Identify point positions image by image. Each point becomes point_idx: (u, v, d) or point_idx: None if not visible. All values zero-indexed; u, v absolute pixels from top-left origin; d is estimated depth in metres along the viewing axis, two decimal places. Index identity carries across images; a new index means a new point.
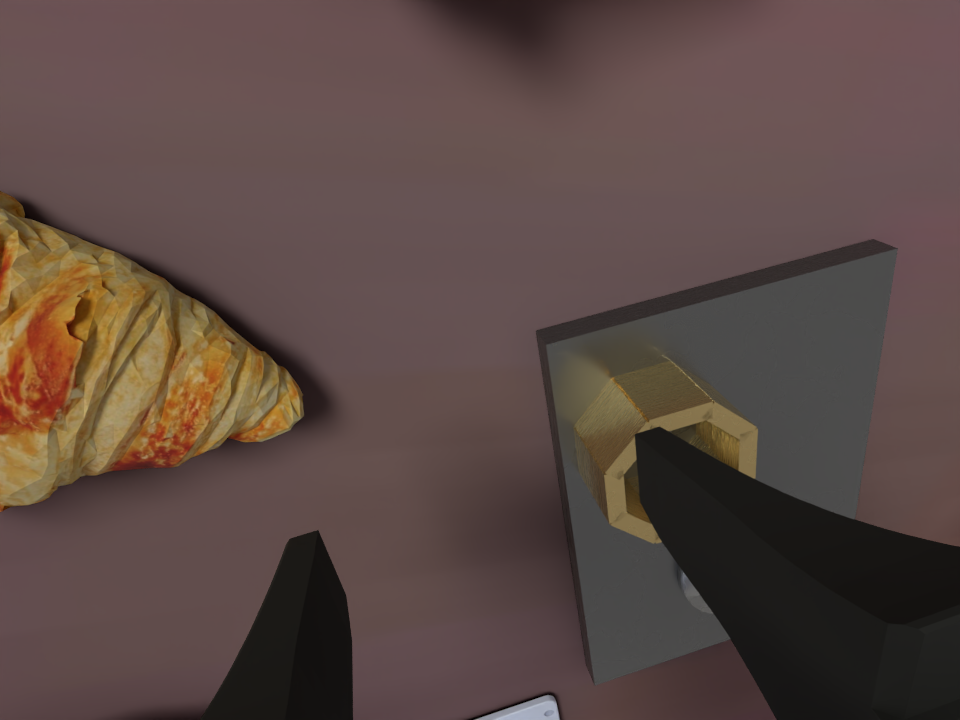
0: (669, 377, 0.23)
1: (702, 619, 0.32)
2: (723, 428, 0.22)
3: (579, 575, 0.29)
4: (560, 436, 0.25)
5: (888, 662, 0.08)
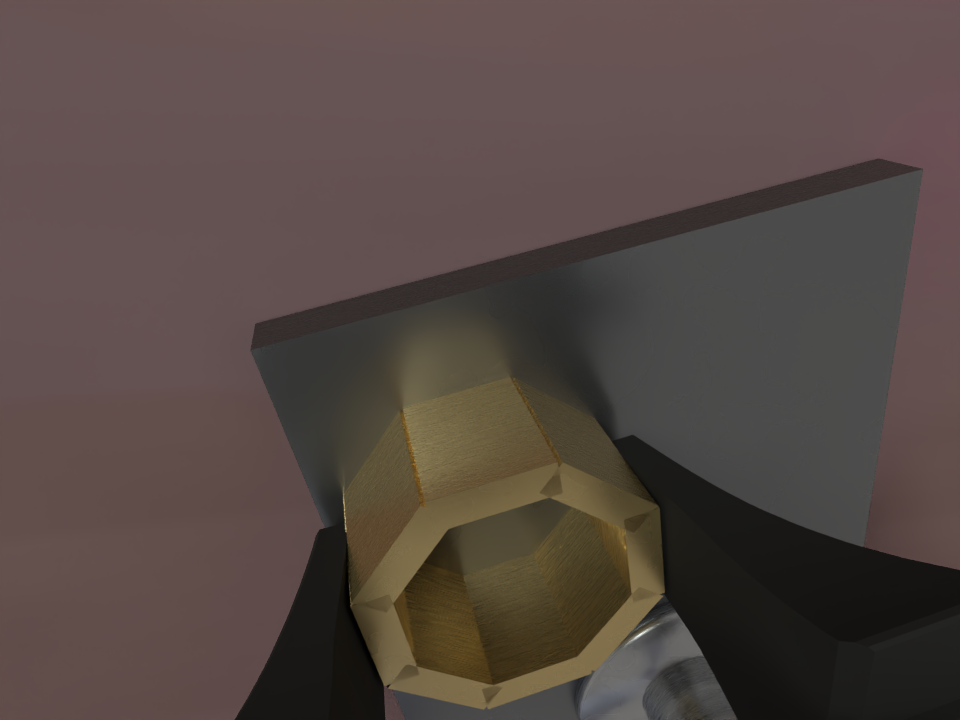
0: (497, 408, 0.12)
1: None
2: (588, 510, 0.11)
3: None
4: (321, 513, 0.14)
5: (840, 679, 0.08)
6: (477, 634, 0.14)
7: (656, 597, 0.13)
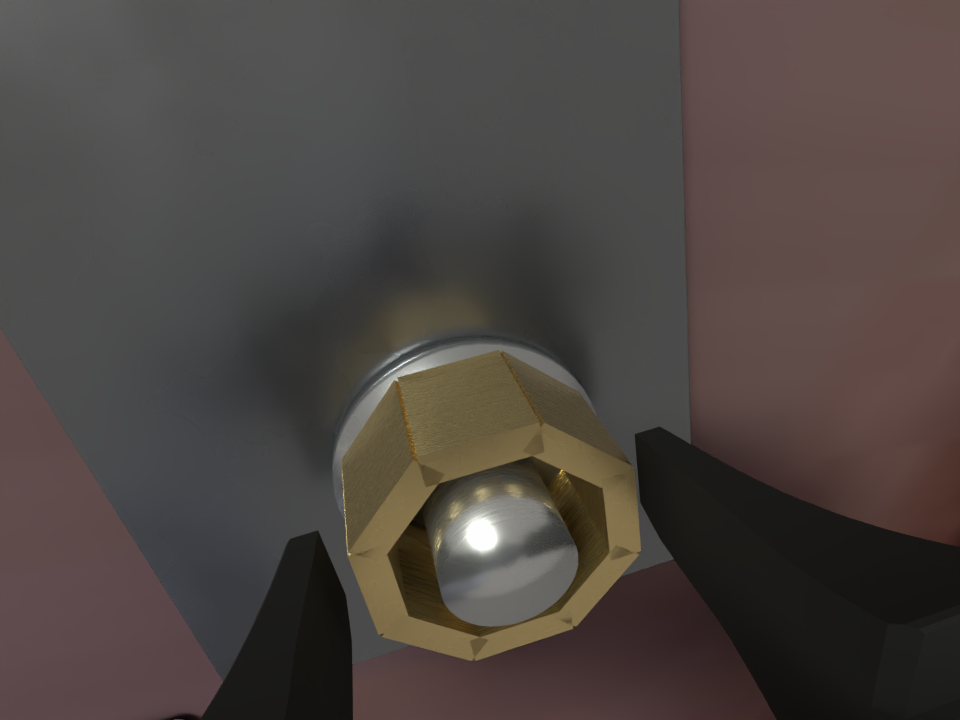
0: (485, 377, 0.13)
1: None
2: (568, 469, 0.12)
3: (102, 485, 0.14)
4: None
5: (888, 663, 0.08)
6: None
7: (633, 556, 0.14)
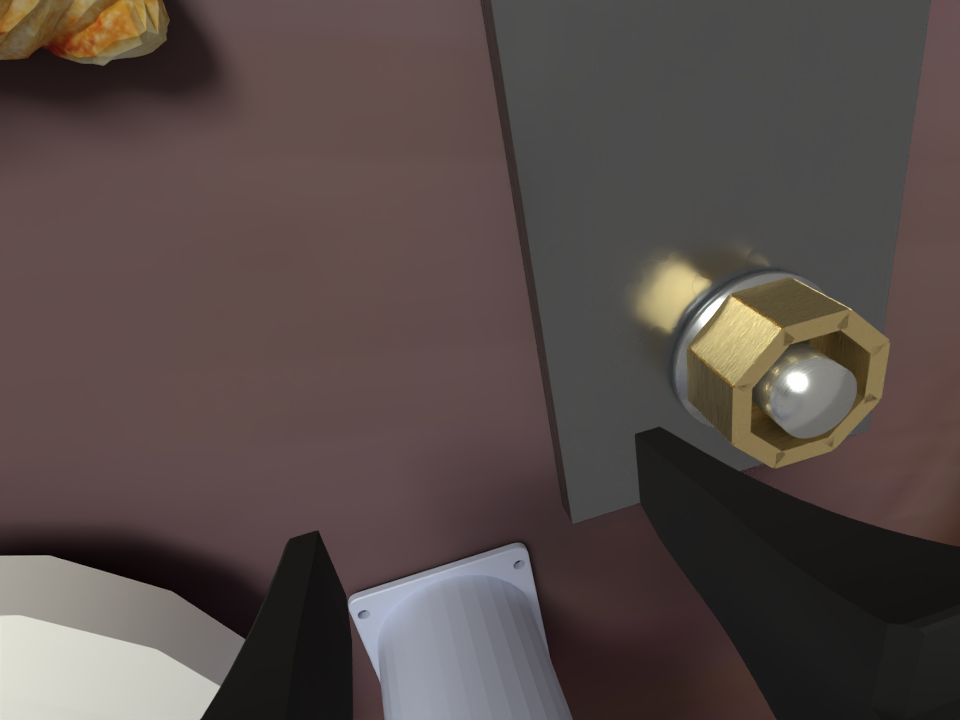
0: (793, 290, 0.22)
1: (701, 440, 0.26)
2: (856, 340, 0.21)
3: (547, 360, 0.23)
4: (513, 137, 0.19)
5: (887, 662, 0.08)
6: (760, 432, 0.24)
7: (875, 402, 0.23)
